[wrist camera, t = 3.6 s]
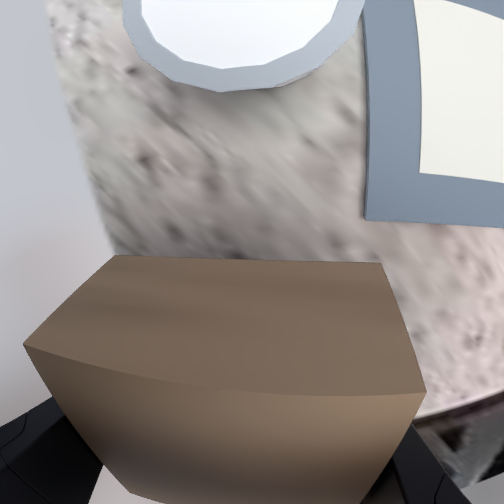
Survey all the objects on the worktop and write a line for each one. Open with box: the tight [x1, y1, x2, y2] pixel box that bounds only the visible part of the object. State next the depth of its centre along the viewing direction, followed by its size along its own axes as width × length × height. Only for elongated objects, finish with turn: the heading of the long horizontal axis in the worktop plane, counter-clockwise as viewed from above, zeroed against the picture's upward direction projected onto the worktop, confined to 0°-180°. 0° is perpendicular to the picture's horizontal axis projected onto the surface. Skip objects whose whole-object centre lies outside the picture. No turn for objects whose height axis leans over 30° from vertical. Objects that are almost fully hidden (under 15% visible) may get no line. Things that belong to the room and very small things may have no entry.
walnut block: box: [23, 255, 427, 504], centre depth 7 cm, size 7×7×4 cm
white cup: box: [123, 0, 365, 92], centre depth 9 cm, size 7×7×7 cm
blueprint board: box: [361, 0, 504, 228], centre depth 11 cm, size 14×14×1 cm
